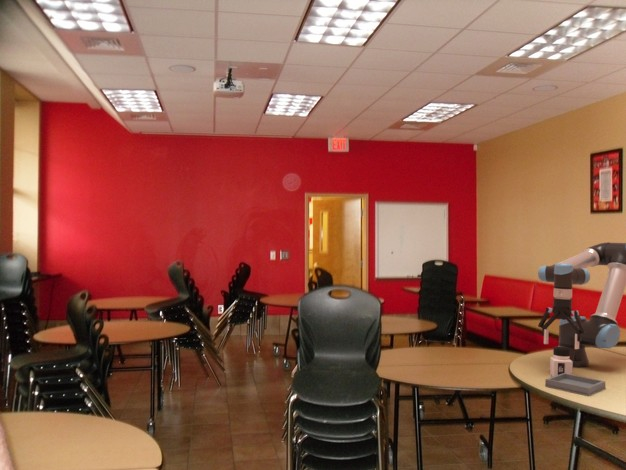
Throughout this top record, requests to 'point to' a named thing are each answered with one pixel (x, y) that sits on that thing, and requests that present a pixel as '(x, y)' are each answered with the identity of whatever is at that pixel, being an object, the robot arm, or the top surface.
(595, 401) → the top surface
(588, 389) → the tray
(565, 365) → the container
